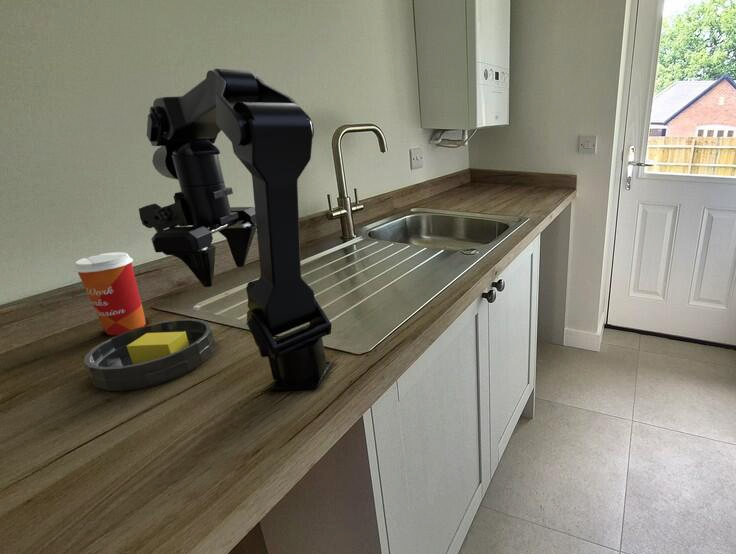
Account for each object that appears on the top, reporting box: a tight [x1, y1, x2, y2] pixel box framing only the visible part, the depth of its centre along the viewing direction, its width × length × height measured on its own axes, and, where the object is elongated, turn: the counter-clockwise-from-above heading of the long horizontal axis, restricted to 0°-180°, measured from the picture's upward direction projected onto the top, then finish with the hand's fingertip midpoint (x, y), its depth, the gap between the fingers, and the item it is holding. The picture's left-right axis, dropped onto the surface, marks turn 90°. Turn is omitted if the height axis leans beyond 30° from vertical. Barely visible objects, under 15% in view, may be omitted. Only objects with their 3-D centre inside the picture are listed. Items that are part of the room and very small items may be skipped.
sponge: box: [127, 332, 189, 365], centre depth 65 cm, size 6×4×4 cm, turn 94°
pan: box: [83, 318, 217, 392], centre depth 65 cm, size 15×15×4 cm
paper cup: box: [73, 251, 147, 336], centre depth 75 cm, size 8×8×14 cm
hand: (225, 276), depth 69 cm, fingers open, 9 cm apart
